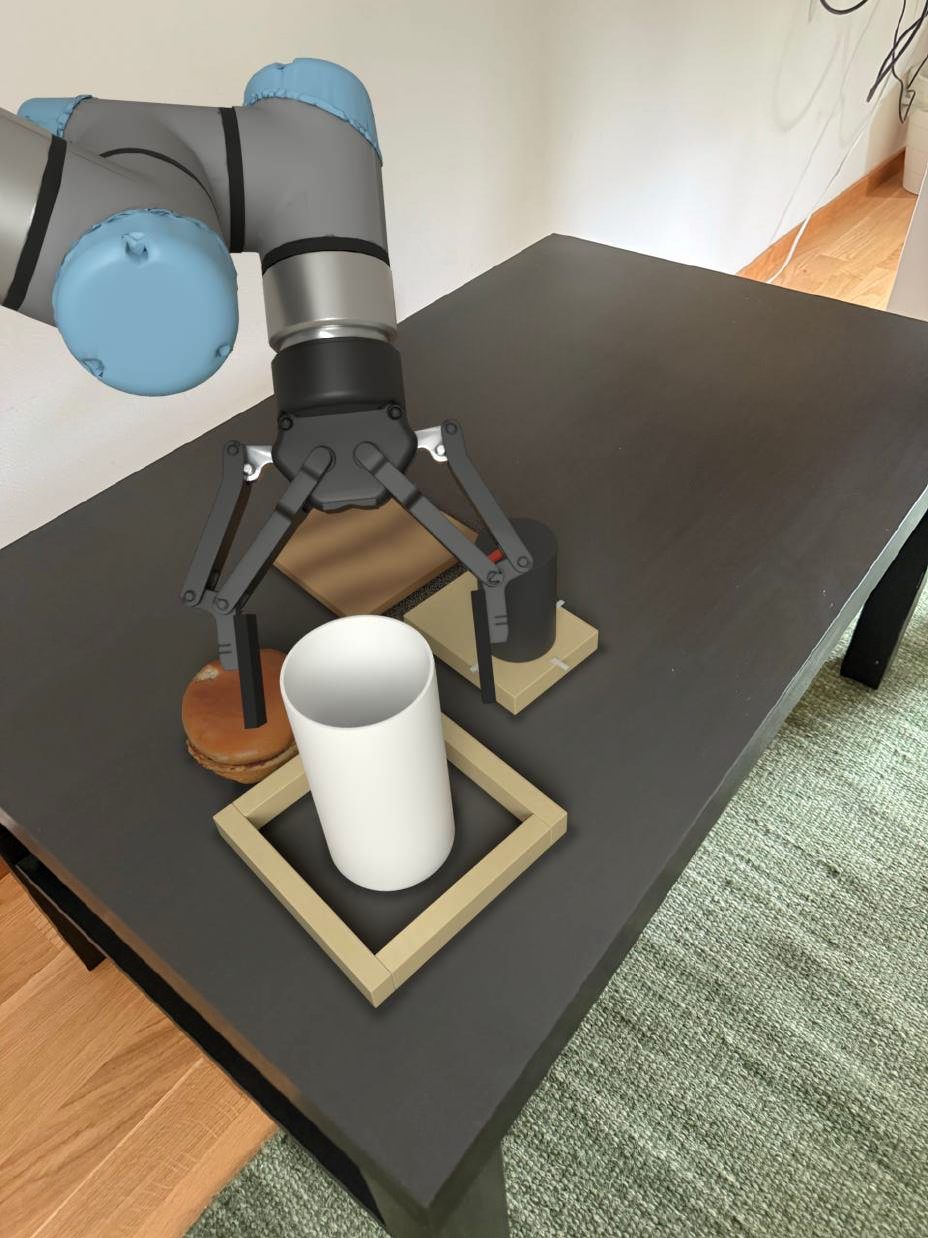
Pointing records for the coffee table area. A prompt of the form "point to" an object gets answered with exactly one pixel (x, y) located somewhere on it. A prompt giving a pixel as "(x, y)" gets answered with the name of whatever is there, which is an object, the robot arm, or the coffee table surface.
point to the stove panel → (515, 683)
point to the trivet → (364, 558)
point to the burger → (237, 723)
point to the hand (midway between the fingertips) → (372, 714)
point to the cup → (372, 748)
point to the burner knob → (528, 593)
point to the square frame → (439, 919)
